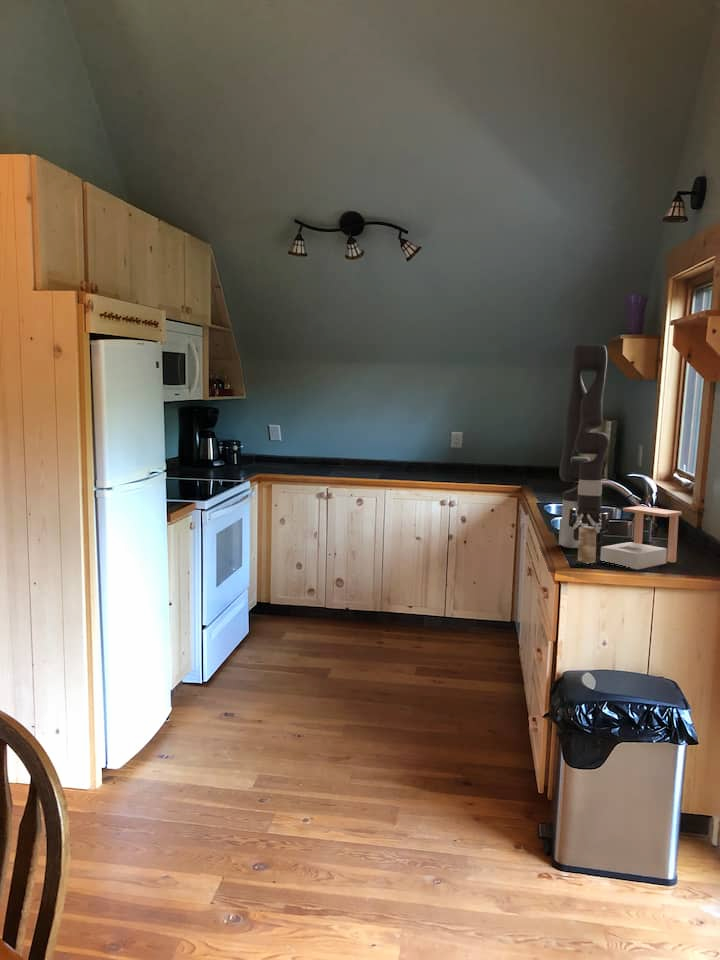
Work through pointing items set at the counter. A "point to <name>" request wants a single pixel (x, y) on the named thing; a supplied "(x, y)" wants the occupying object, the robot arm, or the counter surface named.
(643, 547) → the socket block
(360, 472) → the counter surface
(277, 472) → the counter surface
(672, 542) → the wooden arch frame
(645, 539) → the supplement bottle
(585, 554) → the peg
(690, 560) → the counter surface
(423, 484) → the counter surface
